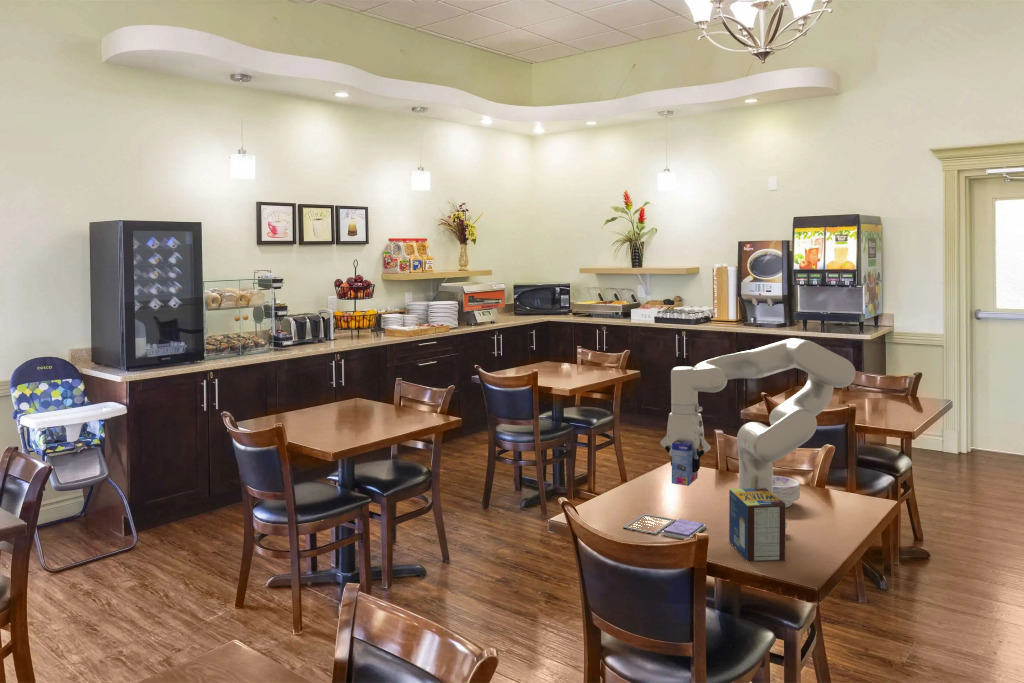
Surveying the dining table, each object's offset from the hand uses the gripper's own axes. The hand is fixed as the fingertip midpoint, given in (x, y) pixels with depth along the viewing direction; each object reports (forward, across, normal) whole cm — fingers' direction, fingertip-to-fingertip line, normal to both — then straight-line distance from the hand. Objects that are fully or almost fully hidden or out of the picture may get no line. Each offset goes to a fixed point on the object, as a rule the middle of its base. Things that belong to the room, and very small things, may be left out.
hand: (685, 469), depth 224 cm
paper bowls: (+19, -14, -40) cm, 46 cm away
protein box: (+19, -22, +4) cm, 30 cm away
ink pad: (+19, 0, 0) cm, 19 cm away
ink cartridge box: (+4, 0, 0) cm, 4 cm away
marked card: (+19, +11, 0) cm, 22 cm away
